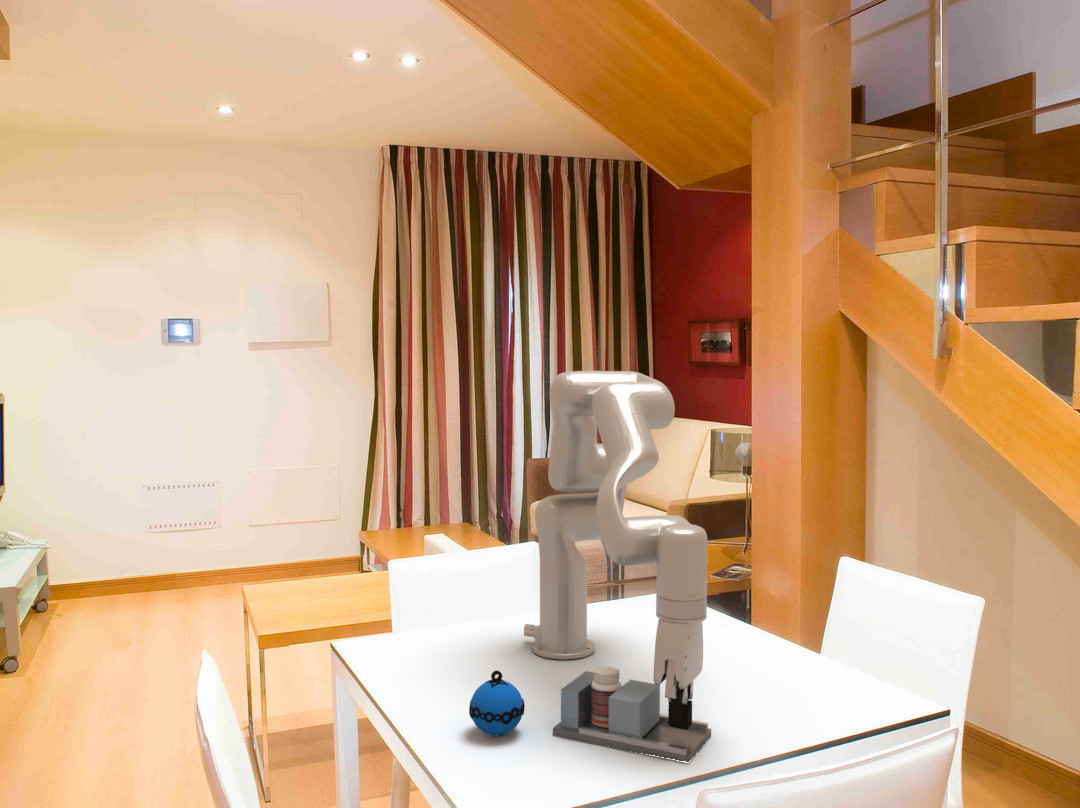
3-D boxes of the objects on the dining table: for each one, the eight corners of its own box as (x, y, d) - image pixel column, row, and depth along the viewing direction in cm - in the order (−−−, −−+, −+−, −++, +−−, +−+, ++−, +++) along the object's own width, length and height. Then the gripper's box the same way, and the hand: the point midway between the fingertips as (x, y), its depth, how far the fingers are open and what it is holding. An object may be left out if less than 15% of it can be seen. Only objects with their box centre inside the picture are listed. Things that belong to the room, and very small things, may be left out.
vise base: (552, 735, 141) (552, 689, 141) (582, 711, 151) (582, 668, 151) (688, 764, 131) (689, 715, 131) (711, 736, 141) (711, 690, 141)
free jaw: (608, 734, 138) (608, 697, 138) (630, 714, 146) (630, 679, 146) (639, 740, 136) (639, 703, 136) (659, 720, 144) (659, 684, 143)
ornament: (480, 749, 136) (480, 683, 136) (462, 728, 144) (462, 666, 144) (533, 739, 140) (533, 675, 139) (512, 719, 148) (512, 659, 147)
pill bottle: (619, 729, 141) (620, 676, 140) (589, 727, 142) (589, 674, 141) (623, 718, 145) (623, 666, 145) (593, 715, 146) (593, 664, 146)
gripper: (674, 592, 145) (672, 705, 146) (639, 616, 132) (638, 739, 133) (719, 598, 141) (718, 714, 142) (689, 623, 128) (688, 750, 129)
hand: (680, 726), depth 137 cm, fingers closed
